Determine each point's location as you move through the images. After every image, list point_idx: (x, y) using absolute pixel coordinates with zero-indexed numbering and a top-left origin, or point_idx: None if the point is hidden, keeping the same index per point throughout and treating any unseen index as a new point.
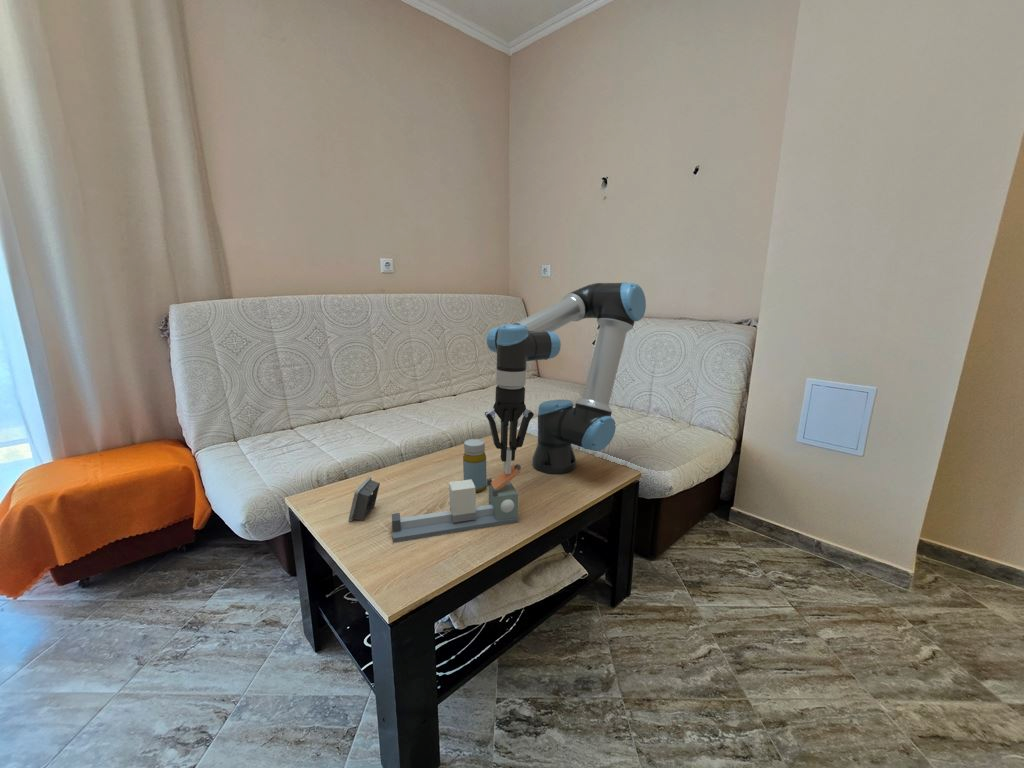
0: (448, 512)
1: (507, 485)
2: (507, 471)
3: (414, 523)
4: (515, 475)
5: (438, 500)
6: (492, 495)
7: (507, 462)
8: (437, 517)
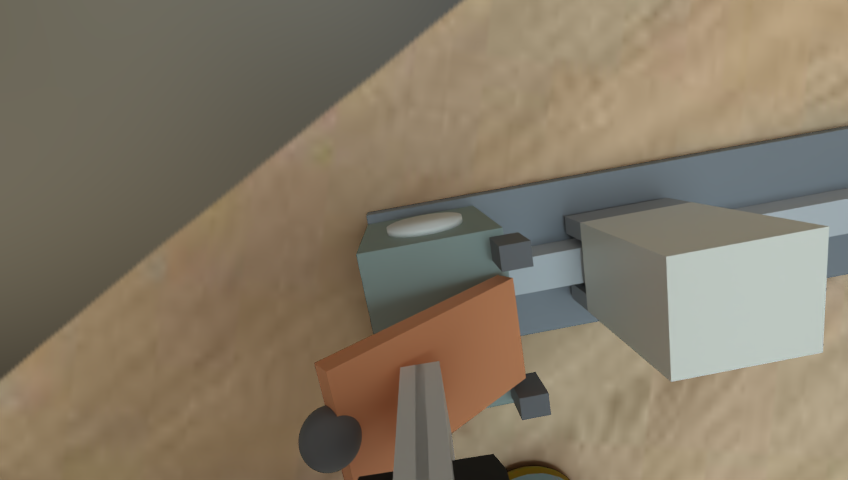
0: None
1: None
2: (430, 375)
3: (837, 195)
4: (361, 343)
5: (686, 413)
6: None
7: (438, 437)
8: None
